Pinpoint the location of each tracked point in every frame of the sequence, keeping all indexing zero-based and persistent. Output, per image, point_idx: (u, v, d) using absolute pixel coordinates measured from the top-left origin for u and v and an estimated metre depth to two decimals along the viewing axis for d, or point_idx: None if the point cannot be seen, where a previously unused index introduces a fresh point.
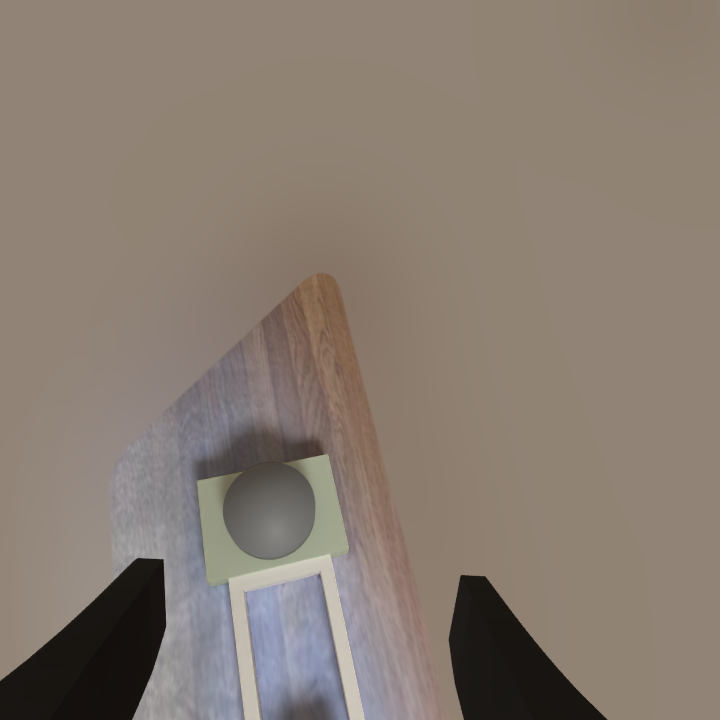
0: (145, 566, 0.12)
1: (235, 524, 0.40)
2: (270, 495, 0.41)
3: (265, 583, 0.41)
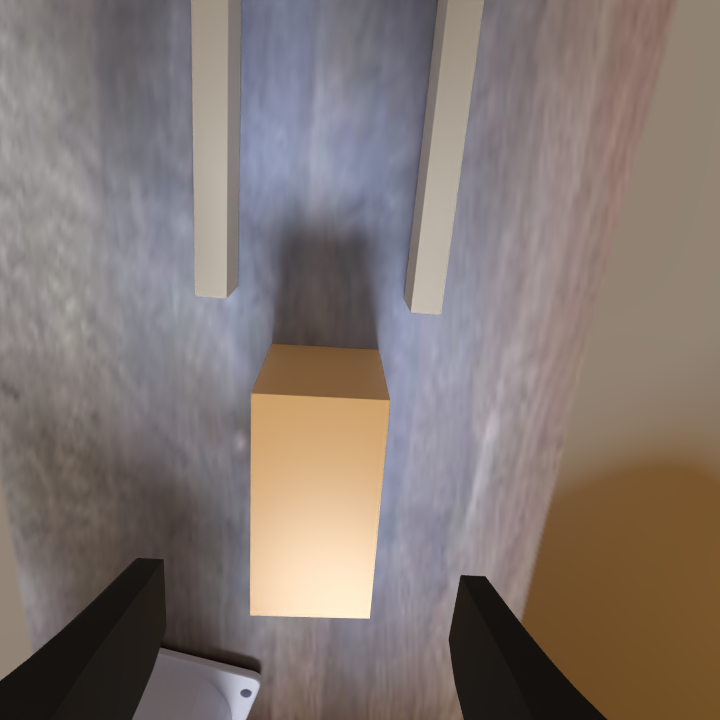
0: (144, 566, 0.12)
1: None
2: None
3: None
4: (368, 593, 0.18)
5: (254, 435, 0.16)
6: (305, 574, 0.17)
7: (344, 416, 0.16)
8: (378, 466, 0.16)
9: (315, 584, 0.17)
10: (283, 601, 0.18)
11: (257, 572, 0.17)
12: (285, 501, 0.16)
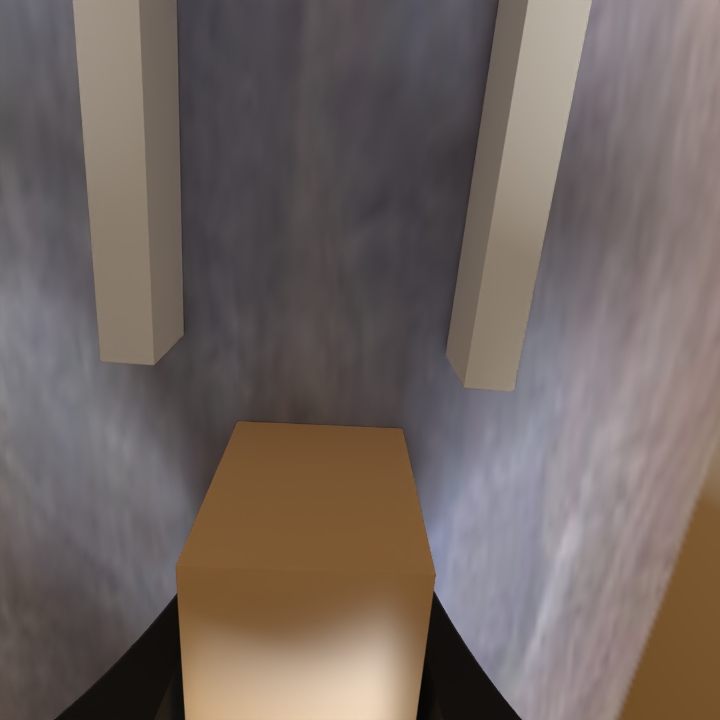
0: None
1: None
2: None
3: None
4: None
5: (186, 634, 0.09)
6: None
7: (351, 601, 0.08)
8: (411, 678, 0.09)
9: None
10: None
11: None
12: None
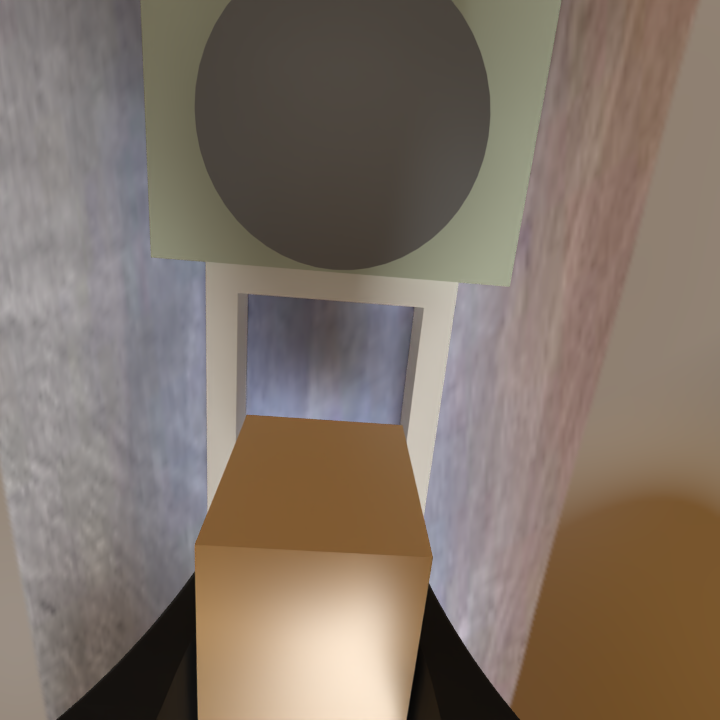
0: None
1: (230, 149, 0.13)
2: (353, 87, 0.12)
3: (291, 295, 0.17)
4: None
5: (201, 608, 0.09)
6: None
7: (354, 580, 0.09)
8: (408, 654, 0.10)
9: None
10: None
11: None
12: (254, 702, 0.10)
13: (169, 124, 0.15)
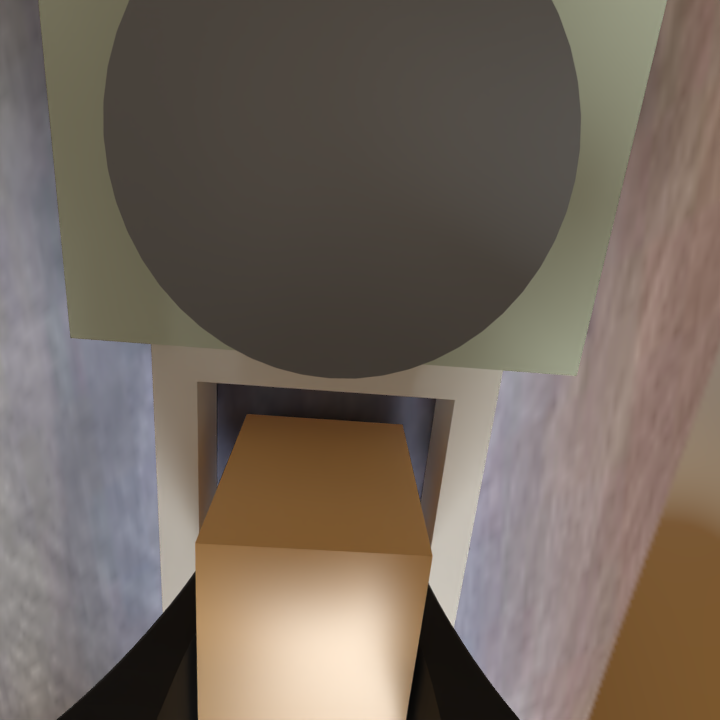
0: None
1: (163, 199, 0.08)
2: (361, 101, 0.08)
3: (272, 383, 0.12)
4: None
5: (201, 607, 0.09)
6: None
7: (355, 579, 0.09)
8: (408, 652, 0.10)
9: None
10: None
11: None
12: (254, 700, 0.10)
13: (88, 152, 0.10)
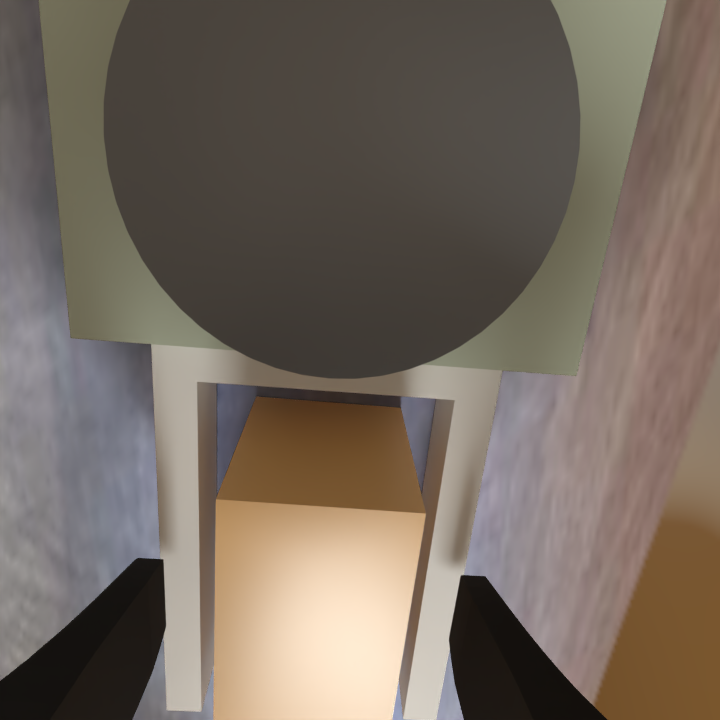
0: (145, 566, 0.12)
1: (164, 200, 0.08)
2: (360, 102, 0.08)
3: (271, 383, 0.12)
4: None
5: (220, 557, 0.10)
6: None
7: (356, 534, 0.10)
8: (403, 602, 0.11)
9: None
10: None
11: None
12: (265, 645, 0.11)
13: (88, 152, 0.10)
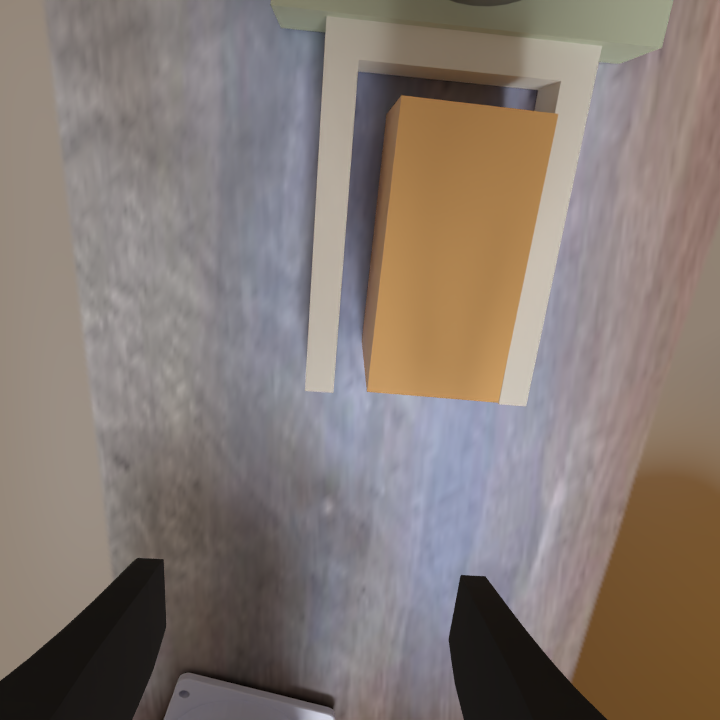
0: (145, 566, 0.12)
1: None
2: None
3: (416, 64, 0.16)
4: (501, 369, 0.16)
5: (399, 152, 0.14)
6: (434, 342, 0.15)
7: (504, 132, 0.14)
8: (534, 202, 0.14)
9: (444, 355, 0.16)
10: (406, 375, 0.16)
11: (381, 336, 0.15)
12: (423, 243, 0.14)
13: None
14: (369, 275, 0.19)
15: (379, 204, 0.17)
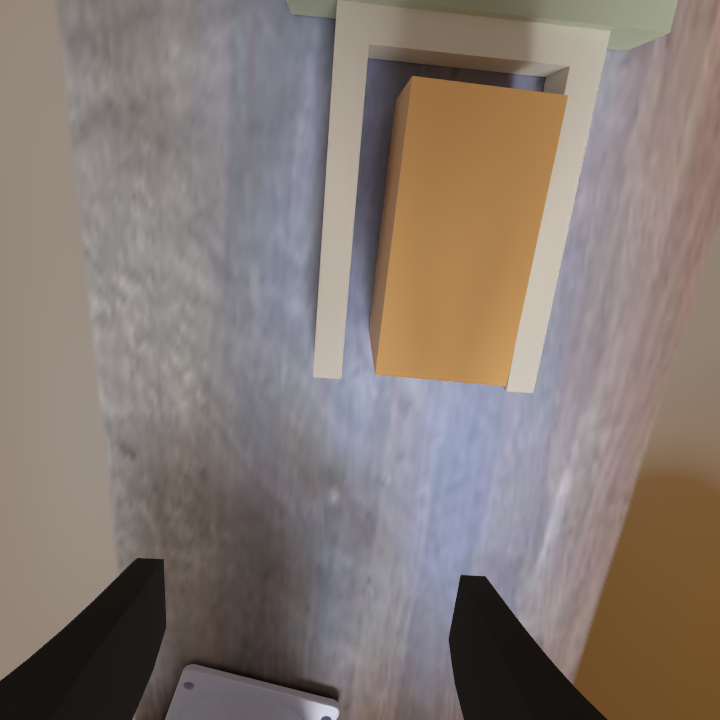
0: (145, 566, 0.12)
1: None
2: None
3: (426, 49, 0.16)
4: (509, 353, 0.16)
5: (409, 133, 0.14)
6: (442, 324, 0.15)
7: (514, 113, 0.14)
8: (543, 184, 0.14)
9: (452, 338, 0.16)
10: (414, 358, 0.16)
11: (390, 318, 0.15)
12: (433, 225, 0.14)
13: None
14: (376, 262, 0.19)
15: (387, 189, 0.17)
